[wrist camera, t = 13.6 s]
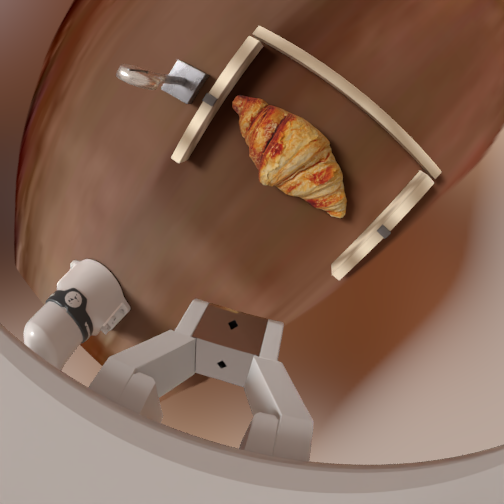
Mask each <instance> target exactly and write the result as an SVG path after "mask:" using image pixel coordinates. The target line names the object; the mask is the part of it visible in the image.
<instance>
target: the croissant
mask: <svg viewBox="0 0 504 504" xmlns="http://www.w3.org/2000/svg"><path fill="white" fill-rule="evenodd" d="M232 103H233V104H232V107H233V109H234V110H235V111H236V112H237V113H238V115H239V116H240V118H239V125H240V131H241V134H242V137H244V138H245V141H246V144H247V145H248V146H249V151H250V154H249V156H250V158H251V159H252V161H253V162H254V163H255V165H256V167H257V168H258V170H259V181H260V182H261V183H262V184H263V185H269V186H274V185H275V186H276V187H277V188H279V189H280V190H281V191H283V192H284V193H285V194H288V195H290V196H297V197H300V198H302V199H304V200H305V201H307V202H308V203H309V204H310V205H312V206H313V207H315V208H319V209H322V210H325V211H326V212H327V213H328V214H330V215H331V216H333V217H337V218H343V216H344V215H345V213H346V205H347V204H346V202H347V200H346V196H345V192H344V184H343V174H342V172H341V169H340V167H339V165H338V164H337V162H336V160H335V157H334V155H333V154H332V151H331V148H330V142H329V140H328V139H327V138H326V137H325V136H324V135H323V134H322V133H321V132H320V131H319V130H317V129H316V128H315V127H314V126H313V125H311V124H310V123H309V122H308V121H306V120H305V119H303V118H301V117H299V116H297V115H294V114H292V113H290V112H287V111H285V110H283V109H281V108H279V107H275V106H272V105H268V103H266V102H265V101H264V100H262V99H260V98H251V97H247V96H243V95H238V96H236V98H235V99H234V101H233V102H232Z"/></svg>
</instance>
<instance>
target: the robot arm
mask: <svg viewBox="0 0 504 504" xmlns="http://www.w3.org/2000/svg"><path fill="white" fill-rule="evenodd" d="M70 267H71V269H70V270H69V271H68V272H67V273H66V274H65V275H64V276H63V278H62V279H61V280H60V281H59V282H58V283H57V291H55V292H54V293H53V294H52V295H51V296H50V297H49V298H48V299H47V300H46V304H45V305H44V306H43V307H42V308H41V309H40V310H39V311H38V312H37V313H36V314H35V315H34V316H33V317H32V318H31V319H30V320H29V321H28V322H27V324H26V326H25V328H24V343H22V342H21V341H20V340H19V339H18V338H17V337H15V336H14V335H13V334H12V333H11V332H10V331H8V330H7V329H6V328H5V327H4V326H3V325H2V324H0V504H504V445H501V446H497V447H494V448H491V449H487V450H483V451H480V452H475V453H471V454H467V455H462V456H457V457H452V458H446V459H440V460H433V461H426V462H417V463H404V464H386V465H351V464H331V463H319V462H310V461H309V458H310V451H311V442H312V434H313V424H314V421H313V419H312V418H311V416H310V414H309V412H308V410H307V408H306V406H305V405H304V403H303V401H302V399H301V397H300V396H299V394H298V392H297V390H296V388H295V386H294V384H293V382H292V381H291V379H290V377H289V375H288V373H287V371H286V369H285V368H284V366H283V364H282V362H278V361H277V360H278V355H279V349H280V344H281V338H282V333H283V327H284V324H283V322H279V321H275V320H270V319H266V318H262V317H258V316H254V315H250V314H246V313H243V312H238V311H235V310H232V309H229V308H225V307H222V306H219V305H216V304H213V303H208V302H205V301H202V300H199V299H196V298H195V299H194V300H193V301H192V302H191V304H190V306H189V307H188V309H187V311H186V313H185V314H184V316H183V318H182V319H181V321H180V323H179V324H178V326H177V328H176V329H175V331H173V330H169V331H166V332H164V333H162V334H160V335H158V336H155V337H153V338H151V339H149V340H147V341H144V342H142V343H140V344H138V345H135V346H133V347H131V348H129V349H126V350H124V351H122V352H119V353H117V354H115V355H113V356H110V357H109V358H108V360H107V361H106V362H105V364H104V365H103V367H102V368H101V370H100V371H99V372H98V374H97V375H96V377H95V378H94V380H93V381H92V383H91V384H90V386H89V387H86V386H84V385H83V384H81V383H79V382H77V381H76V380H75V379H73V378H71V377H70V376H68V375H67V374H65V373H63V372H62V371H61V370H62V368H63V367H64V365H65V363H66V362H67V361H68V359H69V358H70V356H71V355H72V354H73V352H74V351H75V350H76V349H77V347H78V346H79V345H80V343H84V342H85V341H86V340H87V339H88V338H89V337H90V336H91V335H97V334H98V333H99V332H100V330H101V331H102V332H103V333H104V334H107V333H108V331H111V330H112V329H113V328H114V327H115V326H116V325H117V324H118V322H119V321H120V320H121V319H122V318H123V317H124V316H125V315H126V314H127V313H128V312H129V311H130V306H129V304H128V303H127V301H126V300H125V298H124V296H123V293H122V290H121V287H120V285H119V283H118V282H117V280H116V279H115V277H114V276H113V275H112V273H111V272H110V271H109V270H108V269H107V268H106V267H104V266H103V265H102V264H100V263H99V262H97V261H94V260H91V259H85V260H83V261H76V260H73V261H72V262H71V264H70ZM195 373H198V374H202V375H205V376H208V377H212V378H216V379H219V380H222V381H225V382H228V383H232V384H235V385H238V386H242V387H244V390H245V393H246V396H247V399H248V402H249V405H250V408H251V411H252V414H253V419H252V421H251V423H250V425H249V427H248V429H247V431H246V433H245V435H244V437H243V439H242V441H241V444H240V448H239V449H238V448H234V447H230V446H226V445H222V444H219V443H216V442H212V441H209V440H206V439H203V438H200V437H196V436H193V435H190V434H188V433H184V432H182V431H179V430H177V429H174V428H171V427H169V426H166V425H163V424H161V421H162V418H163V415H162V410H161V407H160V402H159V397H161V396H162V395H164V394H165V393H167V392H169V391H170V390H172V389H173V388H175V387H176V386H178V385H179V384H181V383H182V382H183V381H185V380H186V379H188V378H189V377H191V376H192V375H194V374H195Z"/></svg>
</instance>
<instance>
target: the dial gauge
mask: <svg viewBox="0 0 504 504" xmlns="http://www.w3.org/2000/svg"><path fill="white" fill-rule="evenodd" d="M116 76H117V77H118V78H119V79H121V80H122V81H124V82H127V83H129V84H131V85H134V86H137V87H140V88H144V89H149V90H156V89H157V87H158V85H159V83H164V84H163V86H162V88H161V89H162V90H163V91H165V92H167V93H169V94H170V95H172V96H174V97H176V98H177V99H179V100H181V101H183V102H184V103H186V104H192V102H193V100H194V99H195V97H196V96H197V94H198V92H199V91H200V89H201V88H202V86H203V84H204V83H205V81H206V80H207V78H208V77H209V75H208V74H206V73H204V72H203V71H201V70H199V69H197V68H195V67H193V66H191V65H189V64H187V63H185V62H183V61H180V60H177V62H176V64H175V65H174V67H173V69H172V70H171V72H170V74H169V75H166V74H159V73H153V72H151V71H148V70H146V69H143V68H140V67H137V66H134V65H129V64H121V65H120V67H119V69H118V71H117V73H116Z"/></svg>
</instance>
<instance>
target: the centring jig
mask: <svg viewBox="0 0 504 504" xmlns="http://www.w3.org/2000/svg"><path fill="white" fill-rule="evenodd" d="M253 35H254V36H255V38H256V39H258V40H260V41H262V42H264V43H265V44H267V45H269V46H271V47H273V48H274V49H276V50H278V51H280V52H281V53H283V54H285V55H286V56H288V57H290V58H291V59H293V60H294V61H296V62H298V63H299V64H301V65H302V66H304V67H305V68H307V69H308V70H310V71H311V72H313V73H314V74H316V75H317V76H319V77H320V78H322V79H323V80H324V81H326V82H327V83H329V84H330V85H331V86H333V87H334V88H335V89H337V90H338V91H339V92H341V93H342V94H343V95H344V96H346V97H347V98H348V99H350V100H351V101H352V102H353V103H355V104H356V105H357V106H358V107H359V108H361V109H362V110H363V111H364V112H365V113H367V114H368V115H369V116H370V117H371V118H372V119H373V120H375V121H376V122H377V123H378V124H379V125H380V126H381V127H382V128H383V129H384V130H386V131H387V132H388V133H389V134H390V135H391V136H392V137H393V138H394V139H395V140H396V141H397V142H398V143H399V144H400V145H401V146H402V147H403V148H404V149H405V150H406V151H407V152H408V153H409V154H410V155H411V156H412V157H413V158H414V159H415V160H416V161H417V163H418V164H419V165H420V166H421V167H422V168H423V169H424V170H425V171H426V173H427V174H428V175H429V176H431V177H432V178H434V179H436V178H437V177H438V176H439V174H440V173H441V172H442V171H441V170H440V169H439V168H438V167H437V165H436V164H435V163H434V162H433V161H432V160H431V158H430V157H429V156H428V155H427V154H426V153H425V152H424V151H423V150H422V148H421V147H420V146H419V145H418V144H417V143H416V142H415V141H414V140H413V139H412V138H411V137H410V136H409V135H408V134H407V133H406V132H405V131H404V130H403V129H402V128H401V127H400V126H399V125H398V124H397V123H396V122H395V121H394V120H393V119H392V118H391V117H390V116H389V115H388V114H386V113H385V112H384V111H383V110H382V109H381V108H380V107H379V106H377V105H376V104H375V103H374V102H373V101H372V100H371V99H369V98H368V97H367V96H366V95H365V94H363V93H362V92H361V91H360V90H358V89H357V88H356V87H355V86H353V85H352V84H351V83H350V82H348V81H347V80H346V79H344V78H343V77H342V76H340V75H339V74H338V73H336V72H335V71H333V70H332V69H331V68H329V67H328V66H326V65H325V64H323V63H322V62H320V61H319V60H317V59H316V58H314V57H313V56H311V55H310V54H308V53H307V52H305V51H303V50H302V49H300V48H299V47H297V46H295V45H294V44H292V43H290V42H288V41H287V40H285V39H283V38H281V37H280V36H278V35H276V34H274V33H272V32H270V31H269V30H267V29H265V28H263V27H261V26H258V27H257V29H256V30H255V31H254V32H253ZM256 39H254V38H252V37H251V36H249V37H248V38H247V39H246V41H245V42H244V43H243V45H242V46H241V47H240V49H239V50H238V51H237V53H236V54H235V55H234V57H233V58H232V59H231V61H230V62H229V64H228V65H227V67H226V68H225V69H224V71H223V72H222V74H221V75H220V77H219V78H218V80H217V81H216V83H215V84H214V86H213V87H212V89H211V90H210V92H209V93H206V95H205V97H204V98H203V100H202V101H203V103H202V104H201V106H200V108H199V109H198V111H197V113H196V114H195V116H194V118H193V119H192V121H191V123H190V124H189V126H188V128H187V130H186V131H185V133H184V135H183V137H182V138H181V140H180V142H179V144H178V146H177V147H176V149H175V151H174V153H173V155H172V157H171V159H173V160H174V161H176V162H177V163H181V162H184V161H186V160H188V159H189V157H190V155H191V153H192V152H193V150H194V148H195V147H196V145H197V143H198V142H199V140H200V138H201V137H202V135H203V133H204V132H205V130H206V128H207V127H208V125H209V124H210V122H211V120H212V119H213V117H214V116H215V114H216V113H217V111H218V109H219V108H220V106H221V105H222V103H223V102H224V100H225V99H226V97H227V96H228V94H229V93H230V91H231V90H232V89H233V87H234V86H235V84H236V83H237V81H238V80H239V79H240V77H241V76H242V74H243V73H244V72H245V70H246V69H247V67H248V66H249V65H250V63H251V62H252V61H253V59H254V58H255V57H256V55H257V54H258V53H259V51H260V50H261V49H262V48H263V45H262V44H261V43H260V41H258V40H256ZM427 174H425V173H424V172H422V171H421V170H420V171H419V172H418V173H417V174H416V176H415V177H414V178H413V179H412V180H411V181H410V182H409V184H408V185H407V186H406V187H405V188H404V189H403V190H402V191H401V193H400V194H399V195H398V196H397V197H396V198H395V199H394V200H393V201H392V202H391V204H390V205H389V206H388V207H387V208H386V209H385V210H384V211H383V212H382V213H381V214H380V215H379V216H378V217H377V219H376V220H375V221H374V222H373V223H372V224H371V225H370V226H369V227H368V228H367V229H366V230H365V231H364V232H363V233H362V234H361V235H360V236H359V237H358V238H357V239H356V240H355V241H354V242H353V243H352V244H351V245H350V246H349V247H348V248H347V249H346V250H345V251H344V252H343V253H342V254H341V255H340V256H339V257H338V258H337V259H336V260H335V261H334V262H333V263H332V264H331V267H332V275H333V276H334V277H335V278H337V279H338V280H340V279H341V278H342V277H343V276H344V275H346V274H347V273H348V272H349V271H350V270H351V269H352V268H353V267H354V266H355V265H356V264H357V263H358V262H359V261H360V260H361V259H363V258H364V257H365V256H366V255H367V254H368V253H369V252H370V251H371V250H372V249H373V248H374V247H375V246H376V245H377V244H378V243H379V242H380V241H381V240H382V239H383V238H385V239H386V238H387V237H388V236H389V235H390V234H391V232H390V231H391V230H392V229H393V228H394V227H395V226H396V224H397V223H398V222H399V221H400V220H401V219H402V218H403V217H404V216H405V215H406V214H407V213H408V212H409V211H410V210H411V209H412V207H413V206H414V205H415V204H416V203H417V202H418V201H419V200H420V199H421V198H422V196H423V195H424V194H425V193H426V192H427V191H428V190H429V189H430V187H431V186H432V185H433V184H434V182H433V181H432V179H431V178H430V177H429V176H428V175H427Z"/></svg>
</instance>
